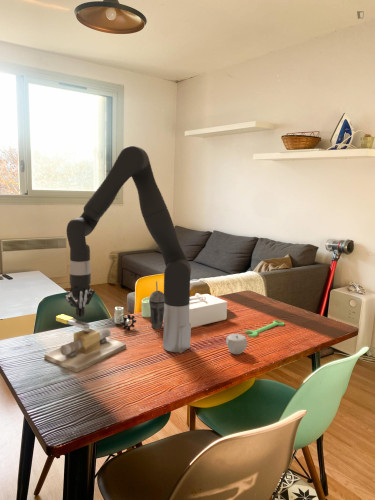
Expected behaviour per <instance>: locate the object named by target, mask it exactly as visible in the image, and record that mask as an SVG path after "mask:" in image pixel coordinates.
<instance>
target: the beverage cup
mask: <svg viewBox="0 0 375 500" xmlns="http://www.w3.org/2000/svg"><path fill="white" fill-rule="evenodd" d="M155 286H156V287H155V288H156V290H155V291H152V293H151V294H150V295H149V297H150V298H149V304H150V313H151V317H150V323H151V325H150V326H151V328H152V329H155V330H156V329H157V330H160V329H161V328H163V325H164V320H163V317H164V292H162V291H160V290H158V281H157V280H156V281H155Z"/></svg>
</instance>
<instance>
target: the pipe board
mask: <svg viewBox="0 0 375 500" xmlns="http://www.w3.org/2000/svg"><path fill="white" fill-rule="evenodd" d="M111 334H112V333H111V329H110V328H108V327H107V328H106V327H105V328H104V329H103V328H102V329H101V330H98V331H97V330H94V329H92V328H89V333H84V329H81V330H79V331H76V332H74V333H73V341H71V342H68V343H66V344H63V345H61V346H60V347H59V348H56V349H55V350H52V351H49V352H46V353H44V354H43V356H44V357H43V358H44V359H45V360H48V362H52V363H54V364H56V365H58V366H61V367H63V368H65V369H68V370H69V371H72V372H74V373H78V372H81V371H82V370H85V369H87V368H89V367H91V366H93V365H95V364H97V363H98V362H101V361H103V360H105V359H107V358H109V357H111V356H112V355H115V354H117V353H119V352H121V351H123V350H125V349H127V343H124V342H121V341H119V340H115V339H112V338H109V337H111Z"/></svg>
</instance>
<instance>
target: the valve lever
mask: <svg viewBox="0 0 375 500" xmlns="http://www.w3.org/2000/svg"><path fill="white" fill-rule="evenodd" d="M55 321H56V322H59V323H61V324H65V325H71V326H74V327H77V328H80V329H81V330H84V333H89V329H90V323H88V322H85V321H81V320H78V319H76V318H74V317H72V316H69V315H66V314H59V315H56V316H55Z"/></svg>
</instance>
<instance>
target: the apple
mask: <svg viewBox="0 0 375 500" xmlns="http://www.w3.org/2000/svg"><path fill="white" fill-rule="evenodd" d="M225 343H226V346H227V349H228V350H229V353H231V354H232V355H240V354H242V353H244V351H245V350H246V349H247V346H248V340H247V338H246V336H245V335H243V334H239V333H231V334H229V335H227V337H226V339H225Z"/></svg>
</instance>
